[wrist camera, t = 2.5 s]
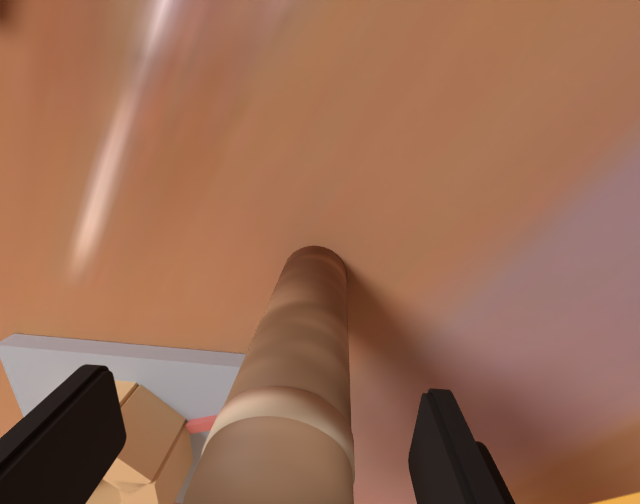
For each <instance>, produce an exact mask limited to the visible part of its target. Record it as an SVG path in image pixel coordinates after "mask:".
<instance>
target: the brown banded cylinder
mask: <svg viewBox="0 0 640 504" xmlns="http://www.w3.org/2000/svg"><path fill="white" fill-rule="evenodd" d="M354 480H355V466H354V441H353V434H352V431H351V406H350V374H349V343H348V311H347V280H346V269H345V266H344V264H343V262H342V260H341V259H340V258H339V256H338V255H336V254H335V253H334V252H333V251H331V250H329V249H327V248H324V247H320V246H308V247H304V248H301V249H299V250H297V251H296V252H294V253H293V254H292V255H291V256H290V257H289V259H288V260H287V262H286V264H285V266H284V269H283V271H282V273H281V275H280V278H279V280H278V282H277V285H276V287H275V289H274V291H273V294H272V296H271V298H270V301H269V303H268V305H267V308H266V310H265V312H264V314H263V317H262V319H261V321H260V324H259V326H258V328H257V330H256V333H255V335H254V337H253V340H252V342H251V344H250V346H249V349H248V351H247V353H246V356H245V358H244V360H243V362H242V365H241V367H240V369H239V372H238V374H237V376H236V379H235V381H234V383H233V385H232V388H231V390H230V392H229V395H228V397H227V399H226V401H225V404H224V406H223V407H222V408H221V410H220V412H219V413H218V415H217V417H216V419H215V422H214V424H213V426H212V428H211V431H210V433H209V435H208V437H207V440H206V442H205V444H204V447H203V450H202V454H201V459H200V461H199V463H198V466H197V468H196V470H195V472H194V475H193V477H192V479H191V482H190V484H189V486H188V488H187V491H186V493H185V496H184V500H183V504H354V500H353V484H354Z"/></svg>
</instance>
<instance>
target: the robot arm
mask: <svg viewBox="0 0 640 504" xmlns="http://www.w3.org/2000/svg"><path fill="white" fill-rule="evenodd" d="M126 438H127V435H126V430H125V426H124V421H123V416H122V412H121V407H120V403H119V398H118V394H117V389H116V385H115V380H114V376H113V373H112V372H111V371H109V369H108V367H107V366H104V365H90V364H85V365H82V366H81V367H79V368H78V369H77V370H76V371H75V372H74V373H73V374H71V375H70V376H69V377H68V378H67V379H66V380H65V381H64V382H63V383H61V384H60V385H59V386H58V387H57V388H56V389H55V390H54V391H52V392H51V393H50V394H49V395H48V396H47V397H46V398H45V399H44V400H42V401H41V402H40V403H39V404H38V405H37V406H36V407H35V408H34V409H32V410H31V411H30V412H29V413H28V414H27V415H26V416H25V417H24V418H22V419H21V420H20V421H19V422H18V423H17V424H16V425H15V426H14V427H12V428H11V429H10V430H9V431H8V432H7V433H6V434H5V435H4V436H2V437H1V438H0V504H86V502H87V501H88V499H89V498H90V496H91V495H92V494H93V492H94V491H95V489H96V488H97V486H98V485H99V483H100V482H101V480H102V479H103V477H104V476H105V474H106V473H107V471H108V470H109V468H110V467H111V465H112V464H113V463H114V461H115V460H116V458H117V457H118V455H119V454H120V452H121V451H122V449H123V447H124V445H125V443H126ZM408 462H409V471H410V475H411V479H412V484H413V488H414V492H415V497H416V501H417V504H515V502H514V500H513V498H512V496H511V494H510V492H509V490H508V488H507V486H506V484H505V482H504V480H503V478H502V476H501V474H500V472H499V470H498V468H497V466H496V464H495V462H494V460H493V459H492V457H491V455H490V453H489V451H488V449H487V448H486V446H485V445H484V444H483V443H481V442H476V441H475V440H474V438H473V435H472V433H471V431H470V429H469V427H468V425H467V423H466V421H465V419H464V417H463V414H462V412H461V410H460V408H459V406H458V404H457V402H456V400H455V398H454V396H453V394H452V392H451V391H450V390H444V389H429V390H428V393H427V394H426V393H423V394H422V397H421V402H420V406H419V411H418V415H417V420H416V425H415V429H414V434H413V439H412V443H411V448H410V452H409V459H408Z"/></svg>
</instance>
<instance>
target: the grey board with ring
mask: <svg viewBox="0 0 640 504" xmlns="http://www.w3.org/2000/svg"><path fill="white" fill-rule="evenodd" d="M245 356H246V354H238V353H227V352H215V351H204V350H193V349H182V348H170V347H159V346H148V345H137V344H126V343H114V342H103V341H92V340H81V339H69V338H58V337H47V336H36V335H25V334H12V335H11V336H9V337H7V338H6V339H4V340H2V341H1V342H0V359H1V361H2V364H3V366H4V369H5V371H6V374H7V376H8V379H9V381H10V384H11V386H12V389H13V392H14V394H15V397H16V399H17V402H18V404H19V407H20V409H21V412H22V414H23V417H25V416H26V415H27V414H28V413H29V412H30V411H31V410H32V409H34V408H35V407H36V406H37V405H38V404H39V403H40V402H41V401H42V400H44V399H45V398H46V397H47V396H48V395H49V394H50V393H51V392H52V391H54V390H55V389H56V388H57V387H58V386H59V385H60V384H61V383H63V382H64V381H65V380H66V379H67V378H68V377H69V376H70V375H71V374H73V373H74V372H75V371H76V370H77V369H78V368H79V367H81V366H82V365H85V364H90V365H104V366H107V367H108V369H109V371H111V372H112V373H113V376H114V380H115V385H116V389H117V394H118V398H119V403H120V407H121V412H122V416H123V421H124V426H125V430H126V435H127V438H126V443H125V445H124V447H123V449H122V451H121V452H120V454H119V455H118V457H117V458H116V460H115V461H114V463H113V464H112V465H111V467H110V468H109V470H108V471H107V473H106V474H105V476H104V477H103V479H102V480H101V482H100V483H99V485H98V486H97V488H96V489H95V491H94V492H93V494H92V495H91V496H90V498H89V499H88V501H87V502H86V504H174V503H181V504H183V500H184V496H185V493H186V491H187V488H188V486H189V484H190V482H191V479H192V477H193V475H194V472H195V470H196V468H197V466H198V463H199V461H200V459H201V454H202V450H203V447H204V444H205V442H206V440H207V437H208V435H209V433H210V431H211V428H212V426H213V424H214V422H215V419H216V417H217V415H218V413H219V412H220V410H221V408H222V407H223V406H224V404H225V401H226V399H227V397H228V395H229V392H230V390H231V388H232V385H233V383H234V381H235V379H236V376H237V374H238V372H239V369H240V367H241V365H242V362H243V360H244V358H245Z"/></svg>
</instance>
